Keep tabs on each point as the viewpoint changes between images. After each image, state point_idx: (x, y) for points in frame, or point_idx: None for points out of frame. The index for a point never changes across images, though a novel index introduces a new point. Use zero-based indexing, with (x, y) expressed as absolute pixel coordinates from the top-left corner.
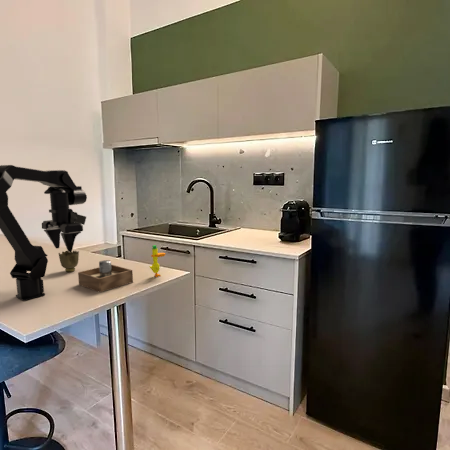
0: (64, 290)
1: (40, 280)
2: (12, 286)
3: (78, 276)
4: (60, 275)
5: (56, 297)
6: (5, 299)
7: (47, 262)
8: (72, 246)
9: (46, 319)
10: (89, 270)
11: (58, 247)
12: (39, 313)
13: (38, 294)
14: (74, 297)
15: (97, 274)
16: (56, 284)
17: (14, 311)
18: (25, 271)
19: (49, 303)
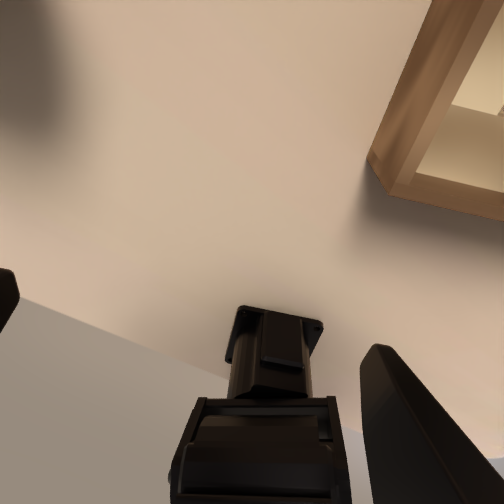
0: (356, 254)
1: (306, 376)
2: (69, 295)
3: (381, 181)
4: (37, 47)
5: (391, 319)
6: (219, 374)
7: (329, 447)
8: (440, 413)
9: (499, 420)
10: (452, 99)
11: (8, 284)
12: (443, 405)
13: (306, 339)
14: (479, 298)
15: (494, 28)
16: (225, 206)
17: (350, 412)
18: (203, 414)
19: (412, 359)
